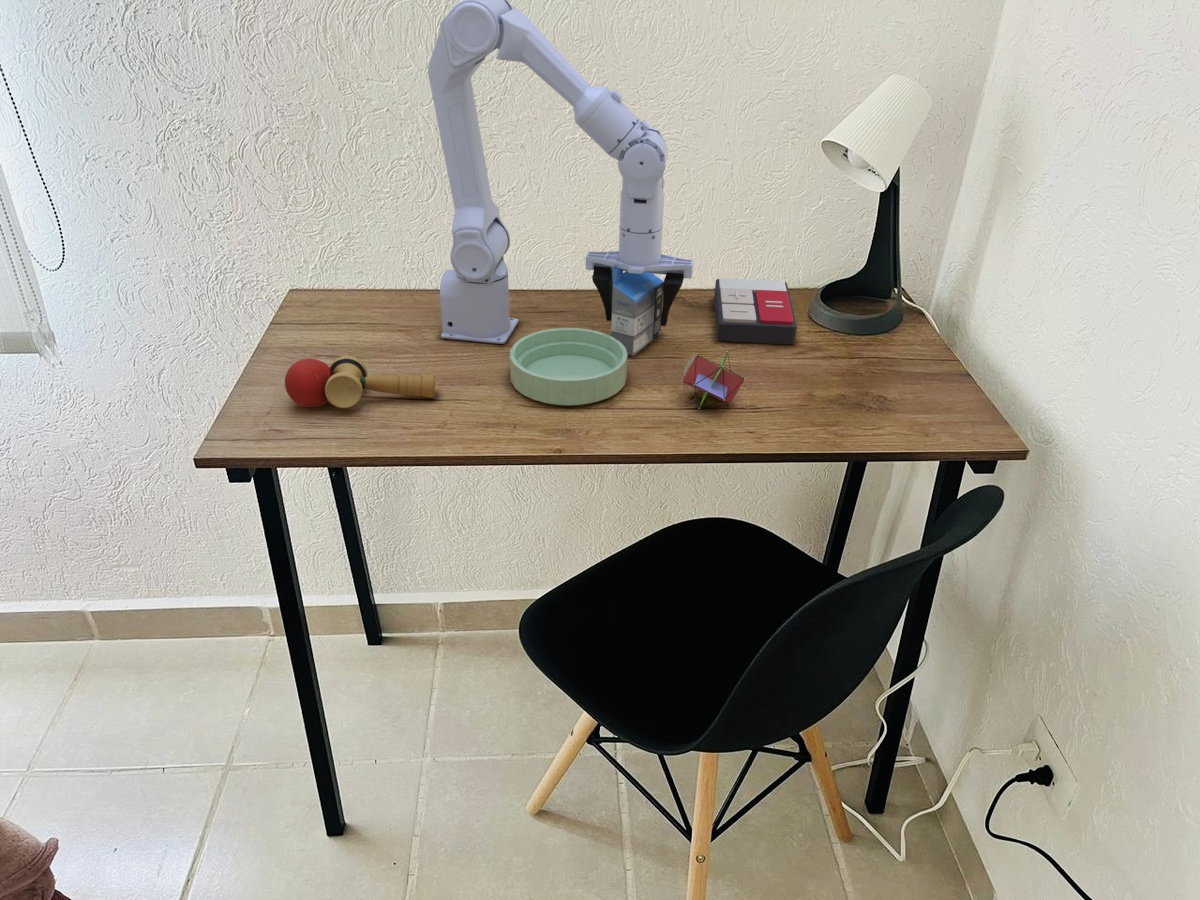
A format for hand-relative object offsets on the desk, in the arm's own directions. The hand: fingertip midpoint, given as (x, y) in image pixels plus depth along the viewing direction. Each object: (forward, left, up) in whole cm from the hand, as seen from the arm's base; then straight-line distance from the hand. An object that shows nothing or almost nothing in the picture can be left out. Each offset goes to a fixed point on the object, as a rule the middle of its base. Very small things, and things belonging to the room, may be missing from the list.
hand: (636, 320), depth 129 cm
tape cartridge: (0, 0, -4) cm, 4 cm away
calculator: (+16, +11, -4) cm, 20 cm away
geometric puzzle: (+12, -15, -4) cm, 20 cm away
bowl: (-7, -13, -3) cm, 15 cm away
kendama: (-31, -24, -4) cm, 39 cm away
